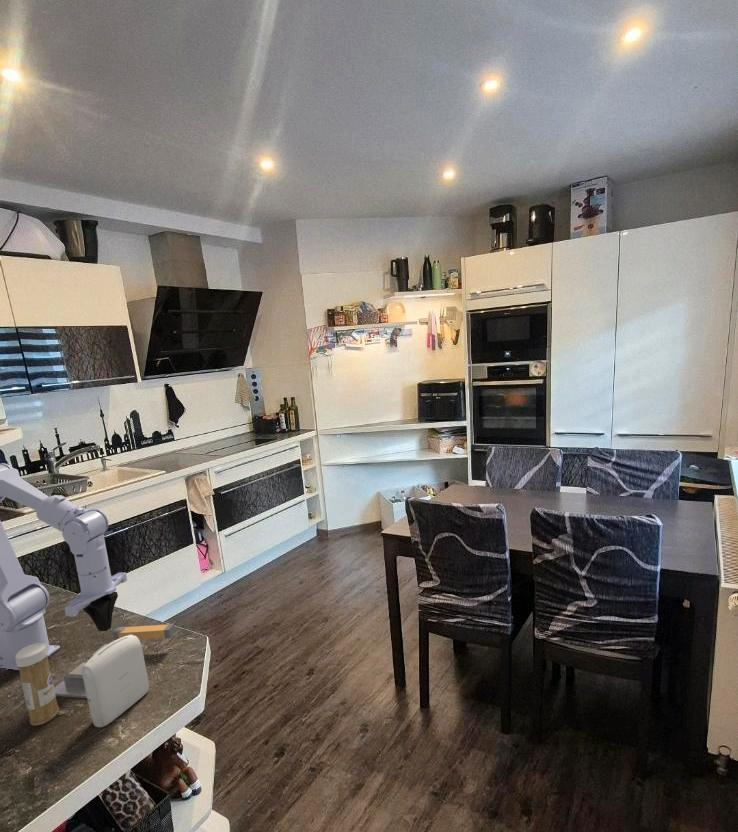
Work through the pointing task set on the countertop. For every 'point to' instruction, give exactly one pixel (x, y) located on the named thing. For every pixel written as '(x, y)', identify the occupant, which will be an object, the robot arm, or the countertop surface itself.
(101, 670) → the photo printer
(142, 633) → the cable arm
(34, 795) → the countertop surface
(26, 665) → the sprinkles bottle
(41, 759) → the countertop surface
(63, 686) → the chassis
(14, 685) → the countertop surface
